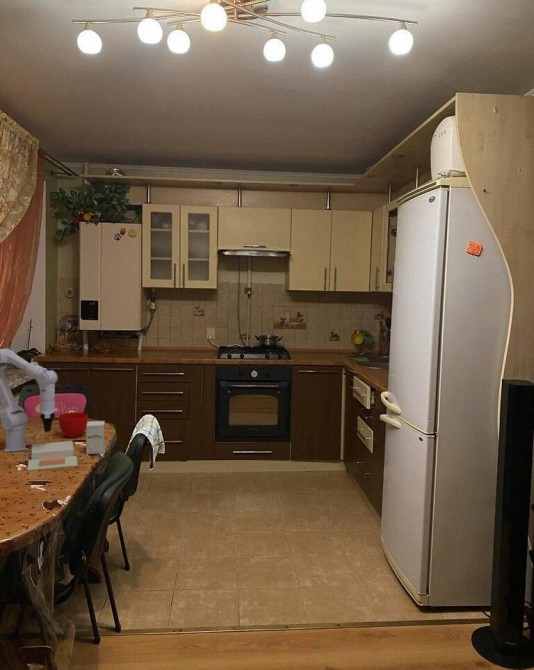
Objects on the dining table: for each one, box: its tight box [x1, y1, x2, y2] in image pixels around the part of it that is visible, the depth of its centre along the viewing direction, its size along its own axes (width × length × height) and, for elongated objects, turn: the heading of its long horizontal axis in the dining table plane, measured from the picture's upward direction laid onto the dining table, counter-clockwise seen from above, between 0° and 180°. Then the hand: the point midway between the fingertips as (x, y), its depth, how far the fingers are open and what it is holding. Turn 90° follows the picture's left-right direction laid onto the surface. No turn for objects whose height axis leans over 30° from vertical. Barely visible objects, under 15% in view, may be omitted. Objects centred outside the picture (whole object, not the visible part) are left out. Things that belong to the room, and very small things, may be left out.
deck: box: [30, 440, 75, 460], centre depth 215 cm, size 13×16×3 cm
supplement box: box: [85, 420, 106, 455], centre depth 220 cm, size 7×7×13 cm
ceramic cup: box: [58, 411, 89, 438], centre depth 244 cm, size 13×17×10 cm
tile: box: [40, 455, 65, 466], centre depth 203 cm, size 6×9×2 cm, turn 113°
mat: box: [26, 455, 78, 472], centre depth 203 cm, size 12×18×1 cm, turn 113°
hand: (47, 431), depth 216 cm, fingers closed
